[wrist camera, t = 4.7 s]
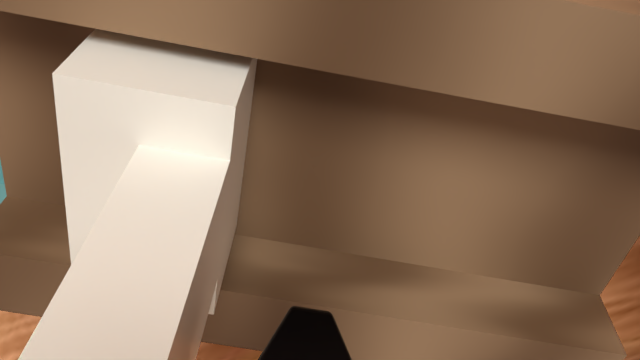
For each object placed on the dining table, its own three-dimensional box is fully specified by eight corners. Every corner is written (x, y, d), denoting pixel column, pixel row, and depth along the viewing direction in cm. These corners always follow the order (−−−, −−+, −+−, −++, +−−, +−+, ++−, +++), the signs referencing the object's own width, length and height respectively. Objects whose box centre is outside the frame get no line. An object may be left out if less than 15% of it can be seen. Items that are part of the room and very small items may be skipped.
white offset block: (260, 36, 12) (149, 357, 6) (236, 225, 15) (147, 574, 9) (114, 9, 12) (-176, 308, 5) (119, 205, 15) (-62, 548, 8)
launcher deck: (673, -52, 16) (856, 58, 10) (528, 230, 21) (590, 402, 16) (60, -179, 14) (-130, -138, 9) (84, 154, 20) (-22, 307, 15)
